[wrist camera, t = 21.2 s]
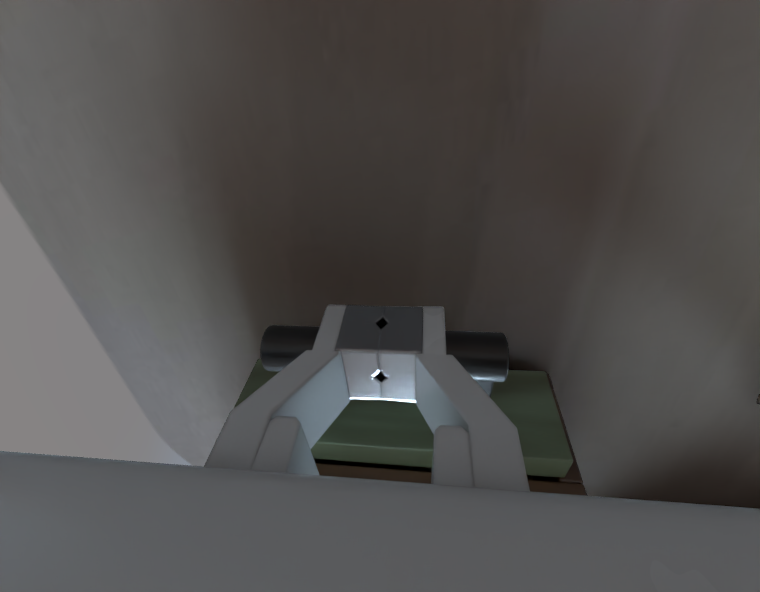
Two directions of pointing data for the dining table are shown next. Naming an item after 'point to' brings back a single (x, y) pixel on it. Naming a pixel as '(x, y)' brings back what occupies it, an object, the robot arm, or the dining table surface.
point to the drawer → (404, 420)
